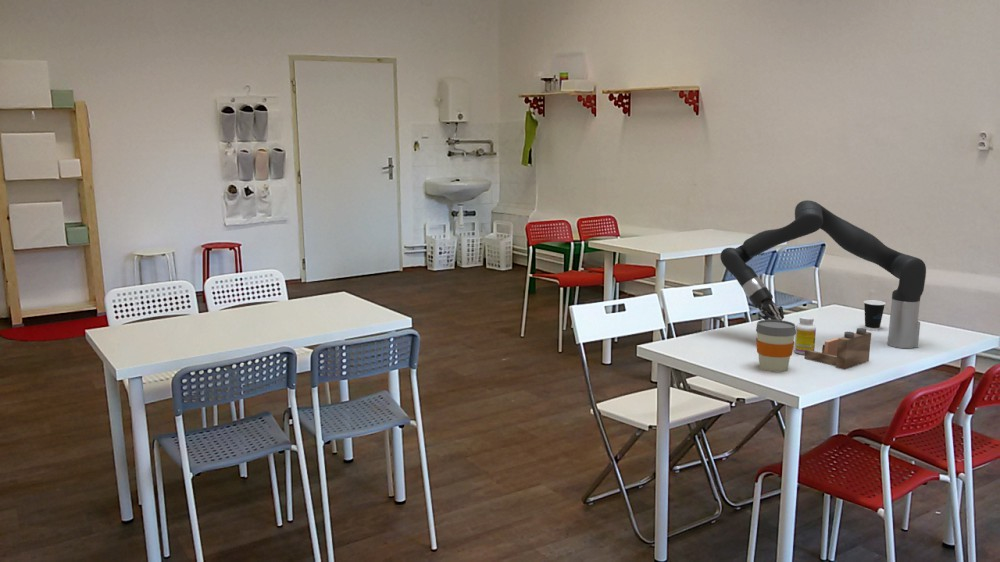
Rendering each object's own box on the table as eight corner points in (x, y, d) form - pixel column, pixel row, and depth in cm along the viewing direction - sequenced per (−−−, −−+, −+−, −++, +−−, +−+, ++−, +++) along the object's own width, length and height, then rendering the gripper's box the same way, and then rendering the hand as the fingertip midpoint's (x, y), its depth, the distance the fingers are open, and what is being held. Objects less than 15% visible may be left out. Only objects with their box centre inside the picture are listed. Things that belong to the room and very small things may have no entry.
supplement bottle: (815, 355, 283) (818, 320, 281) (796, 354, 285) (798, 319, 282) (811, 350, 290) (814, 315, 288) (792, 349, 291) (795, 315, 289)
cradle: (801, 359, 279) (804, 326, 277) (826, 351, 289) (829, 319, 287) (844, 369, 267) (847, 335, 265) (868, 361, 277) (871, 328, 275)
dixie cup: (865, 325, 328) (867, 299, 326) (886, 329, 322) (888, 302, 320) (858, 329, 322) (860, 302, 320) (879, 332, 317) (881, 305, 315)
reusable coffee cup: (759, 372, 263) (762, 328, 261) (749, 362, 276) (752, 319, 273) (798, 373, 263) (801, 328, 260) (786, 362, 275) (789, 319, 272)
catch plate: (823, 358, 277) (825, 341, 276) (837, 354, 282) (838, 337, 281) (827, 359, 276) (828, 342, 275) (840, 354, 281) (842, 338, 280)
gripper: (760, 296, 306) (787, 334, 299) (740, 300, 298) (766, 339, 290) (774, 284, 301) (801, 322, 294) (753, 288, 293) (781, 327, 285)
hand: (784, 330), depth 292 cm, fingers closed
